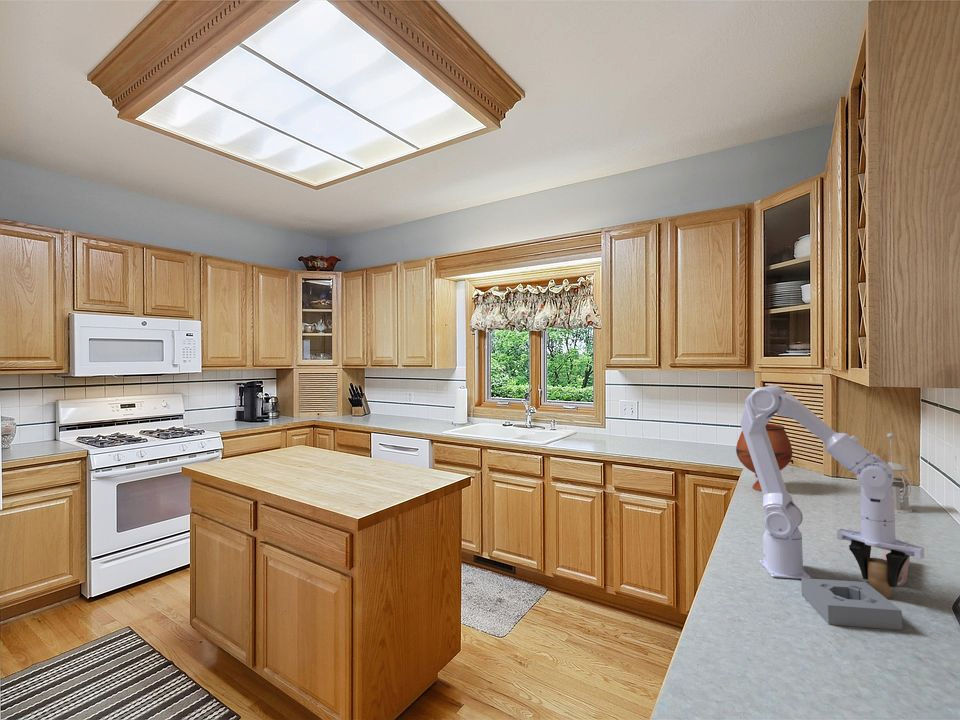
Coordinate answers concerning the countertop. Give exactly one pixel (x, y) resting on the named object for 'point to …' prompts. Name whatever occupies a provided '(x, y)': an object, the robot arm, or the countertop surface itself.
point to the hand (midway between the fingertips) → (879, 581)
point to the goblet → (779, 446)
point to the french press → (899, 486)
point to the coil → (903, 572)
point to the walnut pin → (879, 576)
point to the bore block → (851, 604)
